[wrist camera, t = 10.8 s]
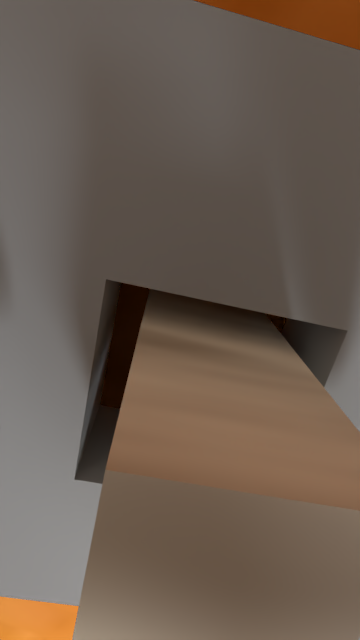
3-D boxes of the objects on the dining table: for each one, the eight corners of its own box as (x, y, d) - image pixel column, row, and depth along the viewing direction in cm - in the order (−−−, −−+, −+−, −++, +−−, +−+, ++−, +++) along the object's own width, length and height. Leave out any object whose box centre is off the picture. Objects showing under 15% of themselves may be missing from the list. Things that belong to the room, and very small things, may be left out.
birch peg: (232, 408, 14) (316, 704, 6) (129, 389, 14) (65, 678, 6) (263, 311, 13) (432, 522, 5) (150, 287, 13) (104, 469, 4)
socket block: (324, 544, 17) (366, 641, 14) (-46, 489, 16) (-115, 582, 12) (517, 163, 11) (685, 147, 8) (-41, 9, 10) (-174, -109, 6)
